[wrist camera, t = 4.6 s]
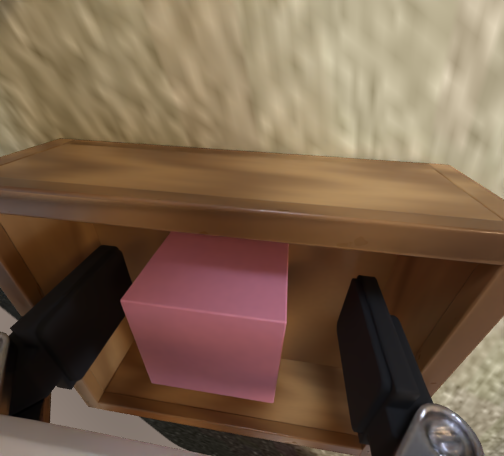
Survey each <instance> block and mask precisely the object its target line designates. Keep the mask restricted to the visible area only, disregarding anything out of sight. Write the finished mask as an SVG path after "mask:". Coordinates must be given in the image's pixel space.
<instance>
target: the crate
mask: <svg viewBox="0 0 504 456" xmlns="http://www.w3.org/2000/svg"><path fill="white" fill-rule="evenodd" d="M171 231H173V232H182V233H192V234H202V235H211V236H221V237H231V238H240V239H250V240H260V241H269V242H279V243H289V248H288V287H287V323H286V329H285V336H284V342H283V348H282V354H281V360H280V366H279V372H278V378H277V384H276V390H275V396H274V402H273V403H267V402H261V401H255V400H249V399H243V398H238V397H232V396H226V395H220V394H214V393H208V392H202V391H196V390H190V389H184V388H178V387H172V386H166V385H160V384H154V383H151V380H150V378H149V375H148V373H147V370H146V367H145V365H144V362H143V359H142V357H141V354H140V352H139V349H138V346H137V344H136V341H135V339H134V336H133V333H132V331H131V328H130V326H129V323H128V320H127V318H126V315H125V317H124V318H123V320H122V321H121V323H120V324H119V326H118V327H117V329H116V330H115V332H114V333H113V334H112V336H111V337H110V339H109V340H108V342H107V343H106V345H105V346H104V348H103V349H102V351H101V352H100V354H99V355H98V357H97V358H96V359H95V361H94V362H93V364H92V365H91V367H90V368H89V370H88V371H87V373H86V374H85V376H84V377H83V378H82V379H81V380H79V381H77V382H76V384H75V385H74V388H75V389H76V391H77V392H78V393H79V394H80V396H81V397H82V399H83V400H84V401H85V403H86V404H87V405H88V407H92V408H98V409H103V410H109V411H114V412H119V413H125V414H130V415H136V416H141V417H147V418H152V419H158V420H163V421H169V422H174V423H180V424H185V425H190V426H196V427H201V428H207V429H212V430H218V431H223V432H229V433H234V434H240V435H245V436H251V437H256V438H262V439H267V440H273V441H278V442H284V443H289V444H295V445H300V446H306V447H311V448H317V449H322V450H328V451H333V452H339V453H344V454H350V455H355V456H371V451H370V445H365V444H360V443H359V438H358V433H357V432H354V431H353V430H352V427H351V421H350V415H349V408H348V402H347V395H346V389H345V382H344V376H343V369H342V363H341V356H340V350H339V343H338V337H337V321H338V318H339V315H340V312H341V309H342V306H343V303H344V300H345V298H346V295H347V292H348V289H349V286H350V283H351V280H352V278H357V276H358V275H363V276H372V277H375V278H376V279H377V282H378V284H379V287H380V290H381V292H382V295H383V298H384V300H385V303H386V305H387V308H388V311H389V313H390V315H394V316H396V317H397V318H398V319H399V321H400V323H401V325H402V328H403V330H404V333H405V335H406V338H407V340H408V343H409V345H410V348H411V350H412V352H413V355H414V357H415V360H416V362H417V365H418V367H419V370H420V372H421V374H422V377H423V379H424V382H425V384H426V387H427V389H428V392H429V394H430V397H432V395H433V394H434V393H435V392H436V391H437V390H438V389H439V388H440V386H441V385H442V384H443V383H444V382H445V381H446V380H447V379H448V378H449V376H450V375H451V374H452V373H453V372H454V371H455V370H456V369H457V367H458V366H459V365H460V364H461V363H462V362H463V361H464V360H465V359H466V357H467V356H468V355H469V354H470V353H471V352H472V351H473V350H474V348H475V347H476V346H477V345H478V344H479V343H480V342H481V341H482V340H483V338H484V337H485V336H486V335H487V334H488V333H489V332H490V331H491V329H492V328H493V327H494V326H495V325H496V324H497V323H498V322H499V321H500V319H501V318H502V317H503V316H504V199H502V198H500V197H499V196H497V195H496V194H494V193H493V192H491V191H489V190H488V189H486V188H485V187H483V186H481V185H480V184H478V183H477V182H475V181H474V180H472V179H470V178H469V177H467V176H466V175H464V174H463V173H461V172H459V171H458V170H456V169H455V168H453V167H452V166H450V165H444V164H429V163H428V164H427V163H413V162H398V161H383V160H369V159H354V158H339V157H325V156H310V155H295V154H281V153H266V152H251V151H236V150H222V149H207V148H192V147H178V146H163V145H148V144H134V143H119V142H104V141H90V140H75V139H61V138H60V139H57V140H53V141H50V142H47V143H44V144H41V145H37V146H34V147H31V148H28V149H25V150H21V151H18V152H15V153H12V154H9V155H5V156H2V157H0V287H1V289H2V290H3V292H4V293H5V294H6V296H7V297H8V298H9V300H10V301H11V302H12V304H13V305H14V306H15V308H16V309H17V311H18V312H19V313H20V315H21V316H22V317H23V316H24V315H25V314H26V313H27V312H28V311H29V310H30V309H31V308H33V307H34V306H35V305H36V304H37V303H38V302H39V301H40V300H41V299H42V298H43V297H45V296H46V295H47V294H48V293H49V292H50V291H51V290H52V289H53V288H54V287H55V286H57V285H58V284H59V283H60V282H61V281H62V280H63V279H64V278H65V277H66V276H67V275H68V274H70V273H71V272H72V271H73V270H74V269H75V268H76V267H77V266H78V265H79V264H80V263H82V262H83V261H84V260H85V259H86V258H87V257H88V256H89V255H90V254H91V253H92V252H93V251H95V250H96V249H97V248H98V247H99V246H101V245H109V246H116V247H118V248H119V250H120V251H122V253H123V256H124V260H125V263H126V266H127V269H128V272H129V275H130V278H131V281H132V283H133V282H134V281H135V279H136V278H137V277H138V275H139V274H140V273H141V271H142V270H143V269H144V267H145V266H146V264H147V263H148V262H149V260H150V259H151V258H152V256H153V255H154V254H155V252H156V251H157V250H158V248H159V247H160V246H161V244H162V243H163V241H164V240H165V239H166V237H167V236H168V235H169V233H170V232H171Z"/></svg>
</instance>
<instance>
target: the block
mask: <svg viewBox="0 0 504 456" xmlns="http://www.w3.org/2000/svg"><path fill="white" fill-rule="evenodd" d="M288 248H289V243H279V242H269V241H260V240H250V239H240V238H231V237H221V236H211V235H202V234H192V233H182V232H173V231H171V232H170V233H169V235H168V236H167V237H166V239H165V240H164V241H163V243H162V244H161V246H160V247H159V248H158V250H157V251H156V252H155V254H154V255H153V256H152V258H151V259H150V260H149V262H148V263H147V264H146V266H145V267H144V269H143V270H142V271H141V273H140V274H139V275H138V277H137V278H136V279H135V281H134V282H133V283H132V285H131V286H130V288H129V289H128V290H127V292H126V293H125V294H124V296H123V297H122V298H121V300H120V302H121V305H122V307H123V310H124V313H125V315H126V318H127V320H128V323H129V326H130V328H131V331H132V333H133V336H134V339H135V341H136V344H137V346H138V349H139V352H140V354H141V357H142V359H143V362H144V365H145V367H146V370H147V373H148V375H149V378H150V380H151V383H154V384H160V385H166V386H172V387H178V388H184V389H190V390H196V391H202V392H208V393H214V394H220V395H226V396H232V397H238V398H243V399H249V400H255V401H261V402H267V403H273V402H274V396H275V390H276V384H277V378H278V372H279V366H280V360H281V354H282V348H283V342H284V336H285V329H286V323H287V287H288Z"/></svg>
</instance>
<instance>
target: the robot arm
mask: <svg viewBox="0 0 504 456" xmlns="http://www.w3.org/2000/svg"><path fill="white" fill-rule="evenodd" d="M131 285H132V281H131V278H130V275H129V272H128V269H127V266H126V263H125V260H124V256H123V253H122V251H120V250H119V248H118V247H116V246H109V245H101V246H99V247H98V248H97V249H96V250H95V251H93V252H92V253H91V254H90V255H89V256H88V257H87V258H86V259H85V260H84V261H83V262H82V263H80V264H79V265H78V266H77V267H76V268H75V269H74V270H73V271H72V272H71V273H70V274H68V275H67V276H66V277H65V278H64V279H63V280H62V281H61V282H60V283H59V284H58V285H57V286H55V287H54V288H53V289H52V290H51V291H50V292H49V293H48V294H47V295H46V296H45V297H43V298H42V299H41V300H40V301H39V302H38V303H37V304H36V305H35V306H34V307H33V308H31V309H30V310H29V311H28V312H27V313H26V314H25V315H24V316H23V317H22V318H21V319H20V320H18V321H17V322H16V323H15V324H14V325H13V326H12V327H11V328H10V329H11V330H12V331H13V332H12V333H11V334H10V335H9V336H8V335H7V334H6V333H3V332H0V456H209V455H205V454H200V453H195V452H190V451H185V450H180V449H175V448H170V447H166V446H161V445H155V444H151V443H146V442H141V441H136V440H131V439H126V438H121V437H116V436H111V435H107V434H102V433H97V432H92V431H86V430H81V429H76V428H71V427H66V426H61V425H56V424H51V423H50V407H51V392H52V390H53V389H54V387H55V386H57V387H60V388H66V389H72V388H73V387H74V385H75V384H76V382H77V381H79V380H81V379H82V378H83V377H84V376H85V374H86V373H87V371H88V370H89V368H90V367H91V365H92V364H93V362H94V361H95V359H96V358H97V357H98V355H99V354H100V352H101V351H102V349H103V348H104V346H105V345H106V343H107V342H108V340H109V339H110V337H111V336H112V334H113V333H114V332H115V330H116V329H117V327H118V326H119V324H120V323H121V321H122V320H123V318H124V317H125V313H124V310H123V307H122V305H121V302H120V300H121V298H122V297H123V296H124V294H125V293H126V292H127V290H128V289H129V288H130V286H131ZM337 337H338V343H339V350H340V356H341V363H342V369H343V376H344V382H345V389H346V395H347V402H348V408H349V415H350V421H351V427H352V430H353V431H354V432H357V433H358V438H359V443H360V444H365V445H370V451H371V456H485V455H484V452H483V449H482V445H481V443H480V441H479V439H478V438H477V436H476V434H475V432H474V431H473V430H472V429H471V427H470V426H469V425H468V424H467V423H466V422H465V421H464V420H463V419H462V418H461V417H460V416H459V415H458V414H456V413H455V412H453V411H452V410H450V409H448V408H447V407H444V406H442V405H439V404H433V401H432V399H431V397H430V394H429V392H428V389H427V387H426V384H425V382H424V379H423V377H422V374H421V372H420V370H419V367H418V365H417V362H416V360H415V357H414V355H413V352H412V350H411V348H410V345H409V343H408V340H407V338H406V335H405V333H404V330H403V328H402V325H401V323H400V321H399V319H398V318H397V317H396V316H394V315H390V313H389V311H388V308H387V305H386V303H385V300H384V298H383V295H382V292H381V290H380V287H379V284H378V282H377V279H376V278H375V277H372V276H363V275H358V276H357V278H352V280H351V283H350V286H349V289H348V292H347V295H346V298H345V300H344V303H343V306H342V309H341V312H340V315H339V318H338V321H337Z"/></svg>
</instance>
